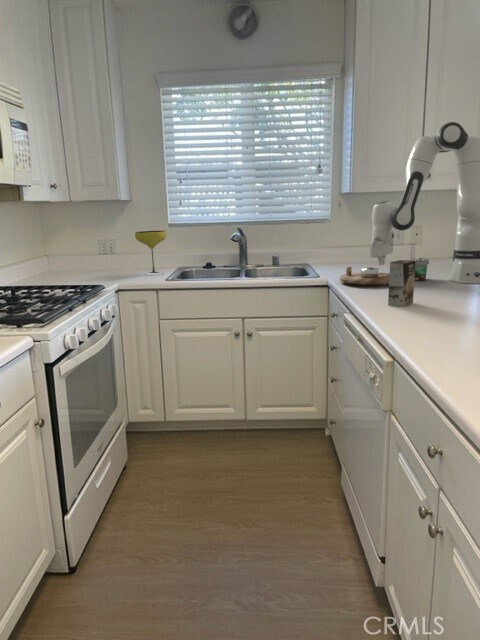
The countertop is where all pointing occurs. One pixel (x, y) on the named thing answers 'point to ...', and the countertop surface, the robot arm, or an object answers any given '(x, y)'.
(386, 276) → the turntable
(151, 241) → the cocktail glass
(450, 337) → the countertop surface
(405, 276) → the coffee box
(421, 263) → the food container
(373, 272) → the cover
